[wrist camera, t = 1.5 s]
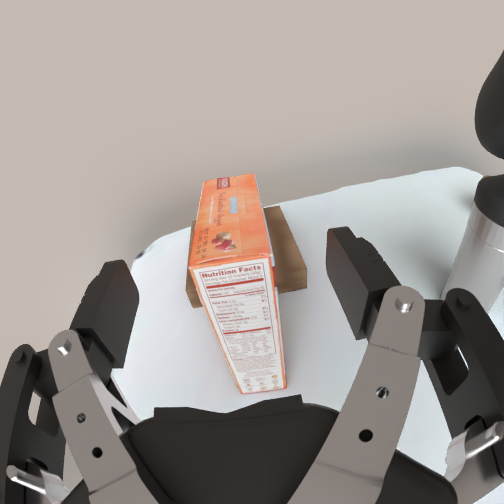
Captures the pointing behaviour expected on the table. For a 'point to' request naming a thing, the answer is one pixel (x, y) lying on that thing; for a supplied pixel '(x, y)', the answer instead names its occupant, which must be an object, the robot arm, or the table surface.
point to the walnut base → (284, 251)
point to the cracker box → (239, 281)
